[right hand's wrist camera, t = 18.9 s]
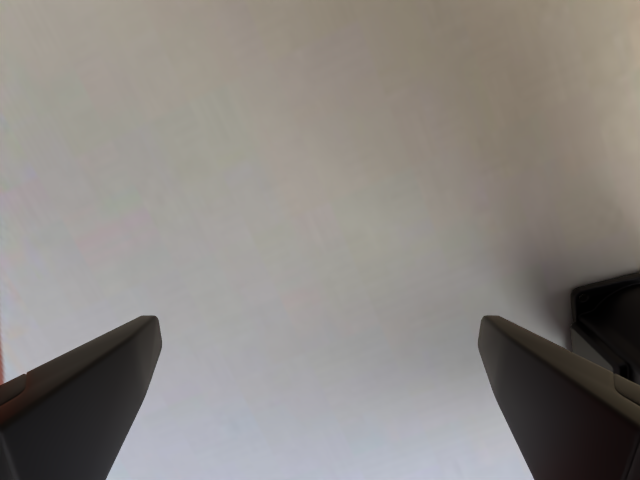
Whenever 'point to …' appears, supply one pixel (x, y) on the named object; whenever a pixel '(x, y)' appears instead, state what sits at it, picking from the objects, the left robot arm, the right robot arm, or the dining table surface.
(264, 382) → the dining table surface
